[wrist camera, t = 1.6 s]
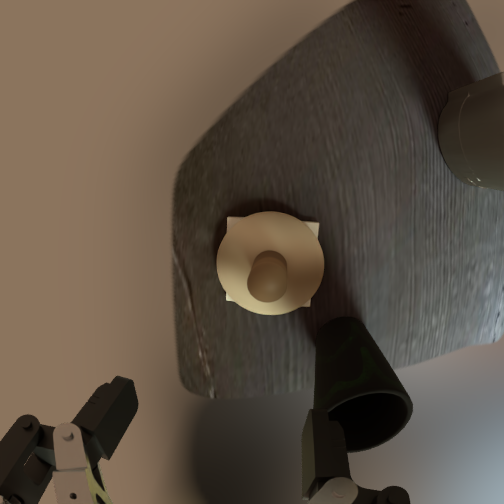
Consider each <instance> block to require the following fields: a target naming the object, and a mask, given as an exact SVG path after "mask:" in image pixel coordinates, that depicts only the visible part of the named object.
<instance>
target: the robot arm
mask: <svg viewBox="0 0 504 504" xmlns="http://www.w3.org/2000/svg"><path fill="white" fill-rule="evenodd" d="M438 138H439V145H440V148H441V152H442V155H443V157H444V159H445V162H446V164H447V165H448V167H449V168H450V170H451V172H452V173H453V174H454V175H455V176H456V177H457V178H458V179H459V180H461V181H462V182H464V183H466V184H468V185H471V186H477V187H481V188H489V189H494V190H500V191H504V72H501V73H498V74H495V75H492V76H490V77H487V78H484V79H482V80H479V81H476V82H474V83H471V84H469V85H466V86H464V87H461V88H459V89H456V90H454V91H451V92H449V93H448V103H447V105H446V106H445V107H444V109H443V110H442V113H441V115H440V118H439V123H438ZM137 409H138V399H137V395H136V391H135V387H134V382H133V380H131V379H128V378H124V377H121V376H116V377H115V378H114V379H113V381H112V382H111V383H110V384H109V383H105V384H103V385H101V386H100V387H98V388H97V389H96V391H95V392H94V393H93V395H92V396H91V397H90V398H89V400H88V402H86V404H85V405H84V406H83V407H82V409H81V410H80V412H79V413H78V414H77V416H76V417H75V418H74V419H73V421H72V422H71V423H63V424H60V425H58V426H57V427H51V426H46V425H42V424H40V422H39V421H38V419H37V418H36V417H35V416H32V415H23V416H21V417H19V418H18V419H17V421H16V422H15V423H14V424H13V426H12V427H11V428H10V429H9V431H8V432H7V433H6V435H5V436H4V437H3V439H2V440H1V441H0V504H38V502H39V501H40V499H41V497H42V495H43V493H44V491H45V489H46V488H47V486H48V484H49V482H50V480H51V479H52V477H53V481H54V487H55V493H56V498H57V503H58V504H113V503H112V501H111V499H110V497H109V495H108V492H107V489H106V486H105V482H104V479H103V475H102V472H101V468H100V464H99V460H100V459H101V457H102V458H104V459H107V460H110V458H111V456H112V455H113V453H114V451H115V449H116V448H117V446H118V444H119V442H120V440H121V439H122V437H123V435H124V433H125V432H126V430H127V428H128V426H129V424H130V423H131V421H132V419H133V418H134V416H135V414H136V412H137ZM301 442H302V500H309V502H308V503H307V504H410V499H409V495H408V493H407V491H406V490H405V489H403V488H401V487H398V486H390V487H387V488H385V489H383V490H382V491H377V490H371V489H365V488H362V487H360V486H358V485H356V484H355V483H354V482H353V480H352V478H351V476H350V470H349V462H348V455H347V449H346V442H345V436H344V430H343V428H342V427H341V425H340V424H339V422H338V421H329V418H328V411H327V409H310V410H309V412H308V416H307V419H306V422H305V425H304V428H303V432H302V441H301ZM30 455H31V456H30ZM29 456H30V457H29ZM28 458H29V459H28ZM27 460H28V461H27ZM26 461H27V462H26ZM25 463H26V464H25ZM24 464H25V465H24Z"/></svg>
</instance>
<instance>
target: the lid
mask: <svg viewBox="0 0 504 504" xmlns="http://www.w3.org/2000/svg"><path fill="white" fill-rule="evenodd" d="M217 272H218V276H219V279H220V282H221V284H222V286H223V288H224V290H225V291H226V293H227V294H228V295H229V296H230V297H231V299H233V300H234V301H235V302H236V303H237V304H239V305H240V306H241V307H243V308H245V309H247V310H249V311H252V312H255V313H259V314H264V315H278V314H284V313H288V312H291V311H293V310H295V309H297V308H299V307H301V306H302V305H304V304H305V303H306V302H307V301H308V300H310V298H311V297H312V296H313V295H314V294H315V292H316V291H317V289H318V287H319V285H320V283H321V280H322V277H323V273H324V256H323V252H322V249H321V246H320V243H319V241H318V240H317V238H316V236H315V234H314V233H313V232H312V230H311V229H310V228H309V227H308V226H307V225H306V224H304V223H303V222H302V221H300V220H299V219H297V218H295V217H293V216H291V215H288V214H285V213H281V212H274V211H266V212H259V213H255V214H252V215H249V216H247V217H245V218H243V219H242V220H240V221H239V222H237V223H236V224H235V225H234V226H233V227H232V228H231V229H230V230H229V231H228V232H227V234H226V235H225V237H224V238H223V240H222V242H221V244H220V247H219V250H218V254H217Z"/></svg>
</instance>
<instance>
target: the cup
mask: <svg viewBox="0 0 504 504" xmlns="http://www.w3.org/2000/svg"><path fill="white" fill-rule="evenodd" d="M313 409H327V411H328V418H329V421H338V422H339V424H340V425H341V427H342V428H343V430H344V436H345V442H346V449H347V453H353V452H360V451H365V450H369V449H371V448H374V447H377V446H379V445H381V444H383V443H385V442H387V441H389V440H390V439H392V438H393V437H394V436H396V435H397V434H398V433H399V432H400V431H401V430H402V429H403V428H404V427H405V426H406V424H407V423H408V421H409V420H410V417H411V415H412V412H413V404H412V401H411V399H410V397H409V395H408V394H407V392H406V390H405V389H404V387H403V385H402V384H401V382H400V381H399V379H398V377H397V376H396V374H395V372H394V371H393V369H392V368H391V366H390V364H389V363H388V361H387V360H386V358H385V357H384V355H383V353H382V352H381V350H380V349H379V347H378V346H377V344H376V343H375V341H374V340H373V338H372V336H371V335H370V333H369V332H368V330H367V329H366V327H365V326H364V324H362V323H361V322H360V321H359V320H357V319H355V318H352V317H340V318H336V319H333V320H331V321H329V322H328V323H326V324H325V325H324V326H323V327H322V328H321V329H320V331H319V332H318V334H317V338H316V361H315V387H314V407H313Z"/></svg>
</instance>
